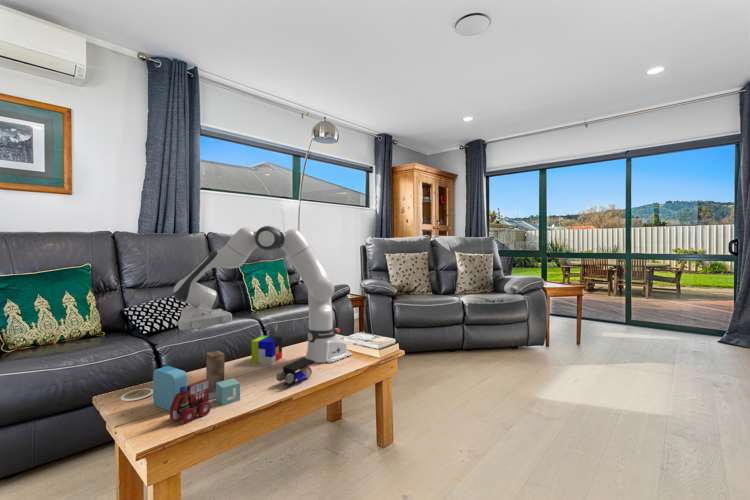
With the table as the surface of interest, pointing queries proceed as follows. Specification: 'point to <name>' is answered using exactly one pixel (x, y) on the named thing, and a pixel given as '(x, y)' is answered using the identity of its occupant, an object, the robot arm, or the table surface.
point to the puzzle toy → (266, 349)
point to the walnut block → (214, 368)
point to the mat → (212, 395)
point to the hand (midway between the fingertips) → (212, 323)
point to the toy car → (290, 370)
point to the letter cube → (227, 391)
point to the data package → (167, 385)
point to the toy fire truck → (191, 401)
